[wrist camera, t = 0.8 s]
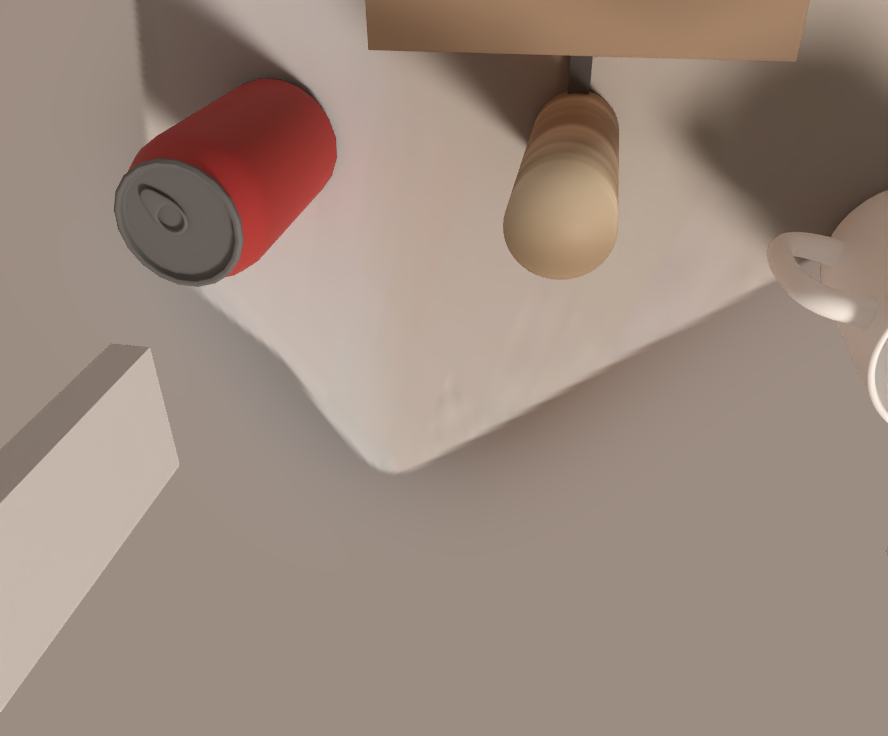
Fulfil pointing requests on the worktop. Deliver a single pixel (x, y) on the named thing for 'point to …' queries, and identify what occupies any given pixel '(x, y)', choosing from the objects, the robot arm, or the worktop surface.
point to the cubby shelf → (592, 27)
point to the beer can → (225, 182)
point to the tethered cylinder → (567, 184)
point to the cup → (846, 286)
